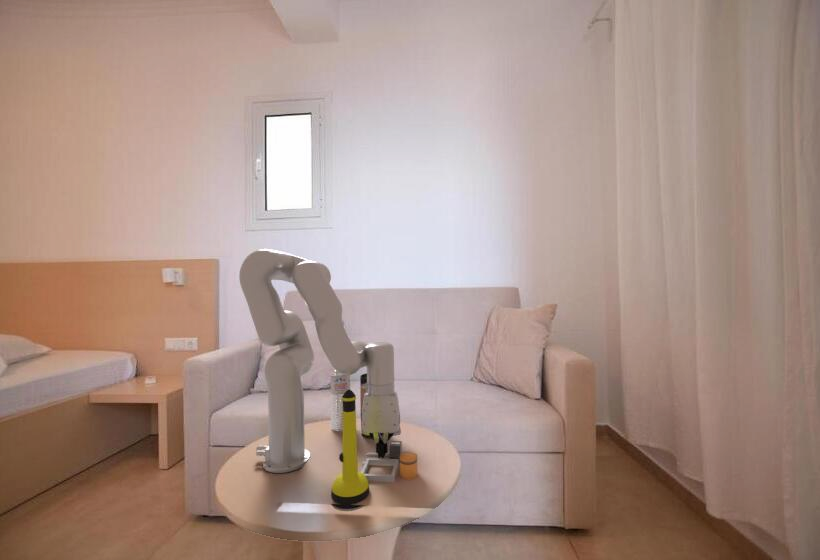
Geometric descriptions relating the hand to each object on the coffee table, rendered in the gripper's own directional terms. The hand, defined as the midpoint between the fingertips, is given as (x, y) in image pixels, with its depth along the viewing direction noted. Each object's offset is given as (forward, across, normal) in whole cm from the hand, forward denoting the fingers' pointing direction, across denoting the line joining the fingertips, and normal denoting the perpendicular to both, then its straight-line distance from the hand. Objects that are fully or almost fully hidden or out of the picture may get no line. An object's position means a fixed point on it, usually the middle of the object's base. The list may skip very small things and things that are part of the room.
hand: (381, 455), depth 97 cm
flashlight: (+3, -5, -16) cm, 17 cm away
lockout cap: (+3, +8, -7) cm, 11 cm away
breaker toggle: (+1, +4, 0) cm, 4 cm away
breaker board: (+3, -2, -4) cm, 5 cm away
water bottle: (+3, -18, +22) cm, 28 cm away
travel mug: (+3, -6, +17) cm, 18 cm away
